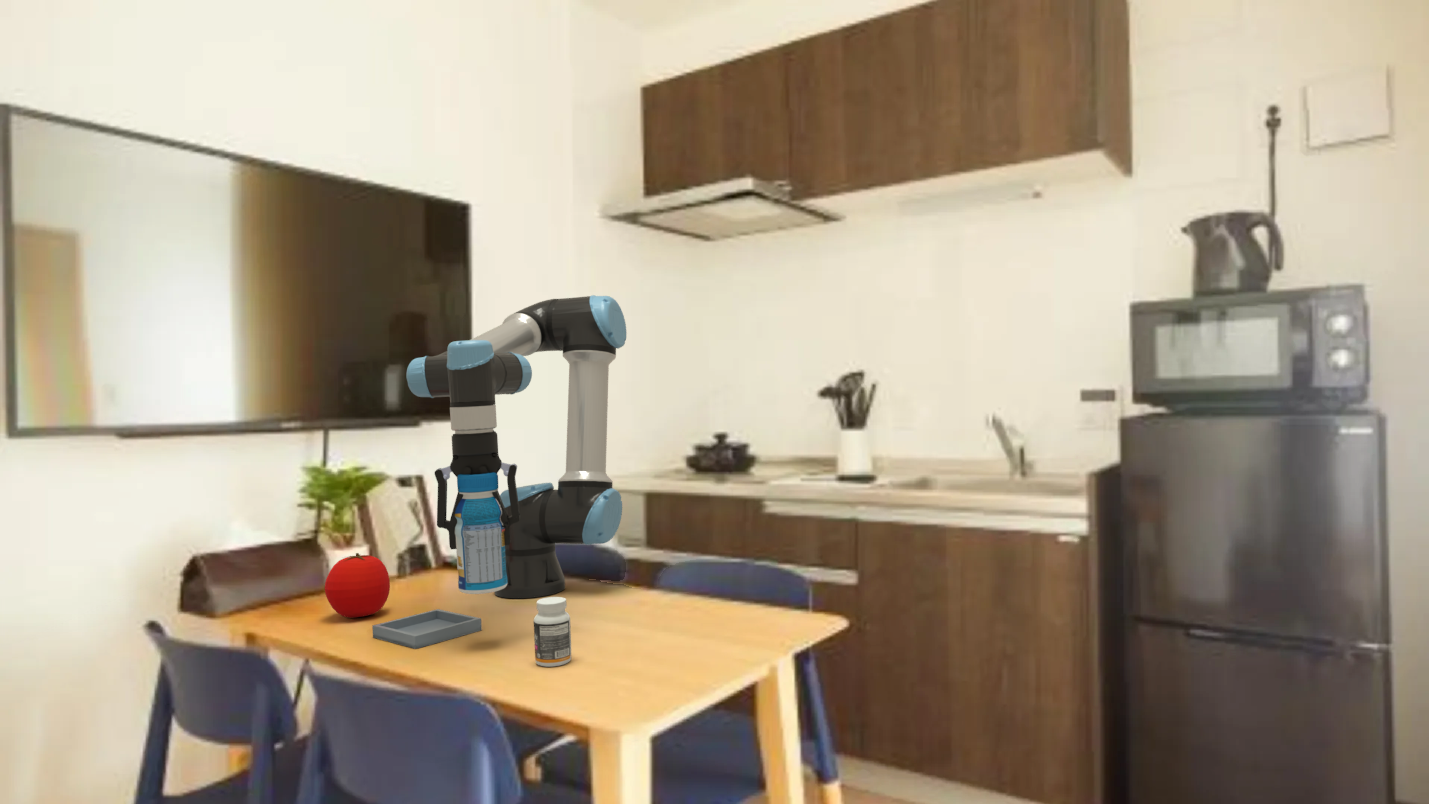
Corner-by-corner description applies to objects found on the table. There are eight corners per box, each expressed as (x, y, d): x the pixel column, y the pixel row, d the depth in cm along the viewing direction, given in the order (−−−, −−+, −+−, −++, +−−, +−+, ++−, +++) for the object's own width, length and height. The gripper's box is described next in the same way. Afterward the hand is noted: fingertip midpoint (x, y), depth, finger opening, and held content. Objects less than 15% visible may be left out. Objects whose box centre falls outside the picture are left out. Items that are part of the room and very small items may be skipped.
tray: (438, 620, 169) (437, 609, 169) (481, 630, 160) (481, 618, 160) (372, 637, 158) (372, 625, 158) (415, 649, 150) (415, 636, 150)
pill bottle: (537, 658, 142) (535, 597, 142) (573, 655, 142) (570, 595, 142) (533, 669, 136) (530, 605, 136) (570, 666, 137) (567, 603, 137)
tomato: (376, 606, 183) (374, 546, 183) (401, 614, 174) (398, 551, 174) (315, 618, 174) (312, 555, 174) (338, 628, 166) (335, 562, 166)
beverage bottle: (482, 597, 144) (476, 476, 143) (447, 592, 148) (440, 474, 148) (519, 585, 151) (513, 470, 150) (484, 581, 155) (478, 469, 155)
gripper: (532, 427, 154) (539, 557, 155) (419, 433, 151) (426, 565, 152) (531, 429, 147) (538, 566, 147) (411, 436, 143) (419, 575, 144)
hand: (481, 565), depth 150 cm, fingers closed on beverage bottle, 6 cm apart
